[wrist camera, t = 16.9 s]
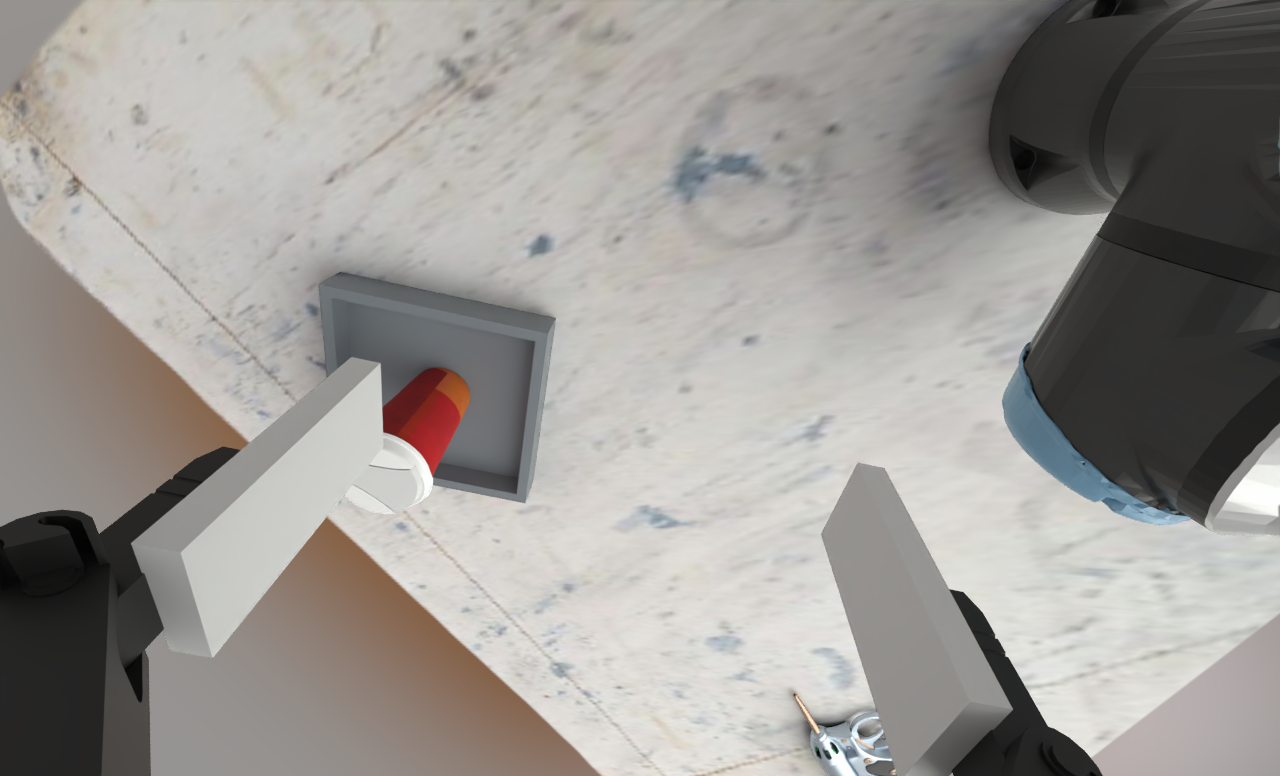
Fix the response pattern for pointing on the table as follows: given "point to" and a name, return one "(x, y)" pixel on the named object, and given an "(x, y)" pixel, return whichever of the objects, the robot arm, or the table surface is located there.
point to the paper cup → (412, 442)
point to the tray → (461, 342)
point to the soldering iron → (849, 748)
